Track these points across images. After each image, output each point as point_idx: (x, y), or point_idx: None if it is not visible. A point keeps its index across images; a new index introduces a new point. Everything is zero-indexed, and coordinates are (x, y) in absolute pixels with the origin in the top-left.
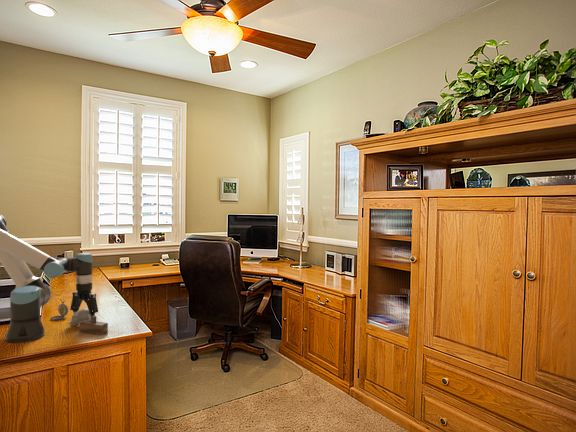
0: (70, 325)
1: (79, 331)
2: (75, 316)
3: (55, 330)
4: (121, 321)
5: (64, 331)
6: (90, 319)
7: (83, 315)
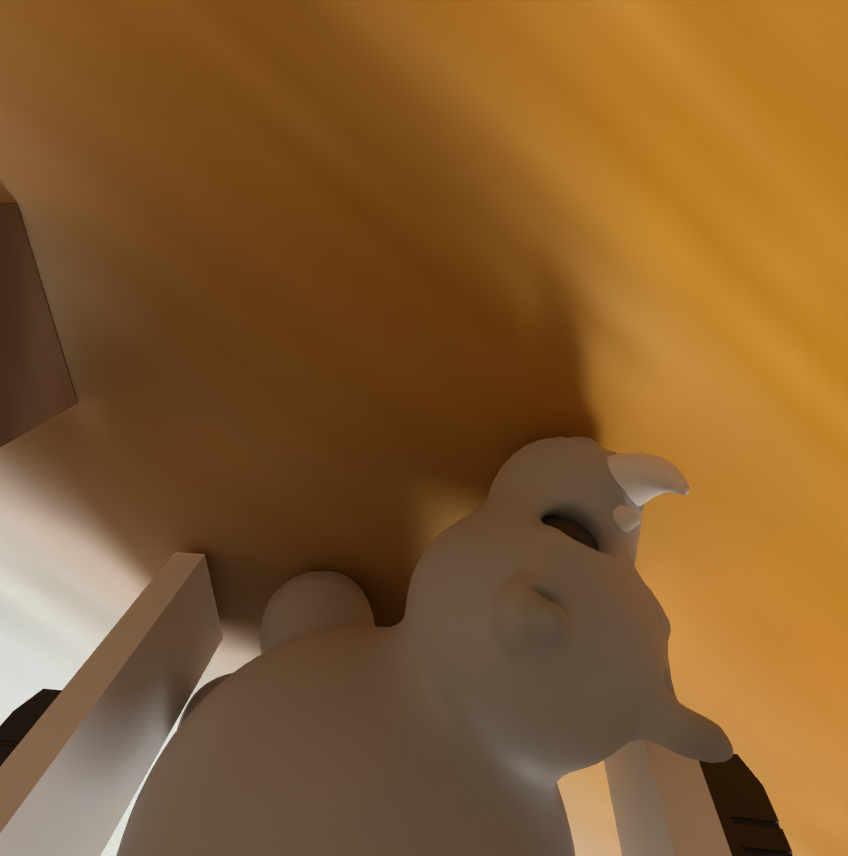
0: (590, 449)
1: (4, 203)
2: (522, 725)
3: (804, 7)
4: None
5: (422, 60)
6: (73, 696)
7: (180, 791)
